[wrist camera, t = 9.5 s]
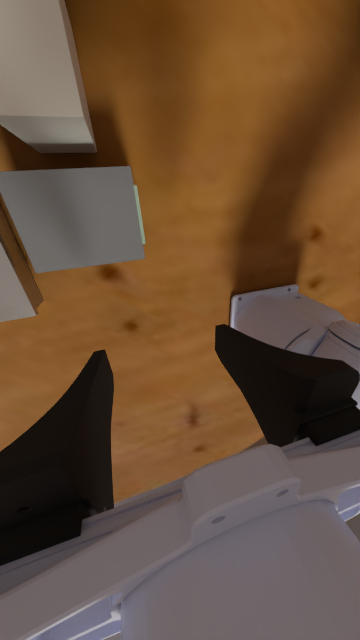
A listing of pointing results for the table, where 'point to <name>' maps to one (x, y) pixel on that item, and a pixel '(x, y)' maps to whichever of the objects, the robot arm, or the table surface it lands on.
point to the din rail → (15, 278)
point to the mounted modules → (75, 216)
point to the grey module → (42, 78)
